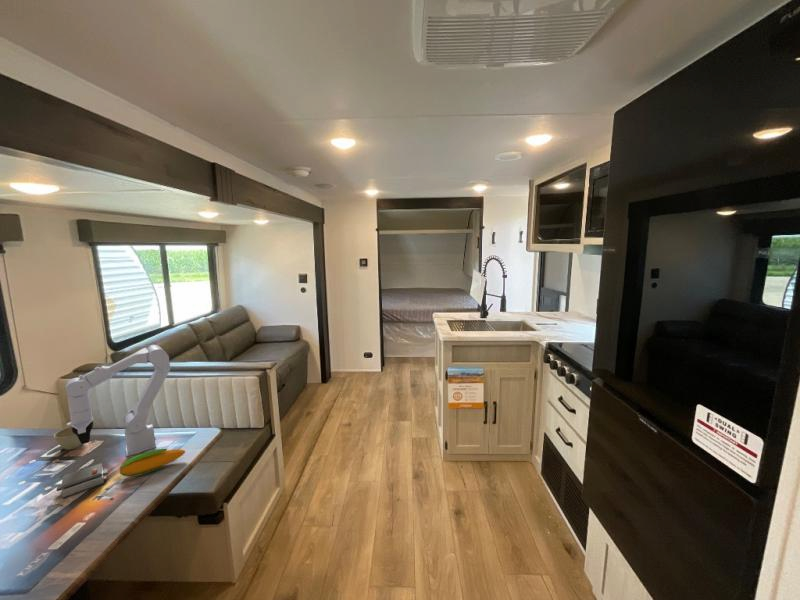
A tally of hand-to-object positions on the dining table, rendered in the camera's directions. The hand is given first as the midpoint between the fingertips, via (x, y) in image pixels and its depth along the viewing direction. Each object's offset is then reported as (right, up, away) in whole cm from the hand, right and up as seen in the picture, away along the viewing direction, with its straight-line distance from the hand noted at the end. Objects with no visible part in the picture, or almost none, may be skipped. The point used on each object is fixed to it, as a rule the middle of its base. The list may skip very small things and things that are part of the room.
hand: (85, 442), depth 122 cm
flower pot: (-18, -8, +13) cm, 24 cm away
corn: (+26, -11, +1) cm, 28 cm away
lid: (+8, -8, -9) cm, 14 cm away
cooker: (+8, -12, -8) cm, 16 cm away
